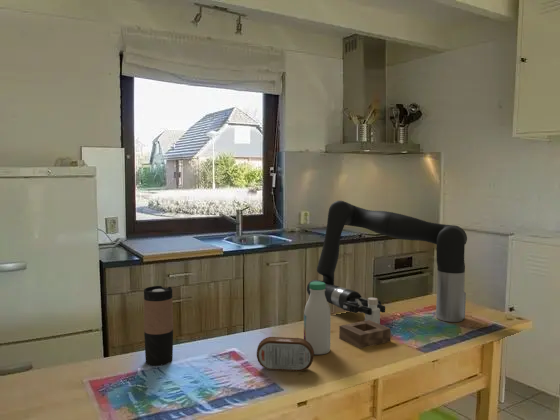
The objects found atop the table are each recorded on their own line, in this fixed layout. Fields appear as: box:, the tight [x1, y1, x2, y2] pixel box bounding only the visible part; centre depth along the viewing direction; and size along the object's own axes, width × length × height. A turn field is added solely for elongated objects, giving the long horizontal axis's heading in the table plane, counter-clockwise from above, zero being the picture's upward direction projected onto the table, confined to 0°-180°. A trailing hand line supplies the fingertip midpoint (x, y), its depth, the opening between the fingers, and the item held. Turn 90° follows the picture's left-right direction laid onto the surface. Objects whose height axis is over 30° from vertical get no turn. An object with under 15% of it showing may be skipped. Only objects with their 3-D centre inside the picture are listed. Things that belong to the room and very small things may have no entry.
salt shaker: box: [364, 297, 381, 325], centre depth 158 cm, size 4×4×10 cm
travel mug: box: [143, 285, 174, 367], centre depth 128 cm, size 8×8×20 cm
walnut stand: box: [338, 320, 392, 349], centre depth 145 cm, size 12×10×4 cm
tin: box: [256, 336, 315, 372], centre depth 123 cm, size 15×3×8 cm, turn 84°
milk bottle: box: [303, 281, 331, 356], centre depth 136 cm, size 8×8×20 cm
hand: (377, 310), depth 156 cm, fingers open, 5 cm apart
